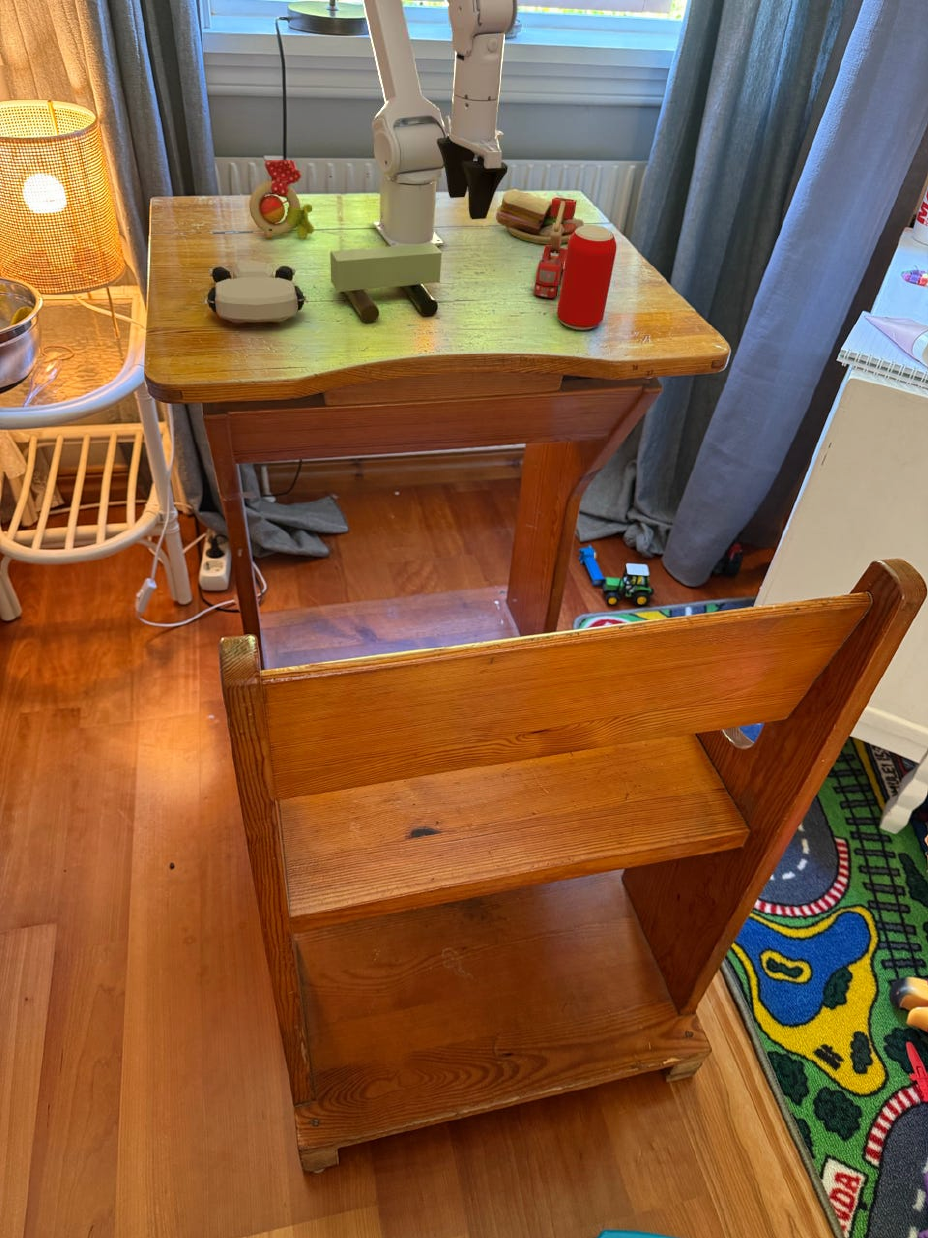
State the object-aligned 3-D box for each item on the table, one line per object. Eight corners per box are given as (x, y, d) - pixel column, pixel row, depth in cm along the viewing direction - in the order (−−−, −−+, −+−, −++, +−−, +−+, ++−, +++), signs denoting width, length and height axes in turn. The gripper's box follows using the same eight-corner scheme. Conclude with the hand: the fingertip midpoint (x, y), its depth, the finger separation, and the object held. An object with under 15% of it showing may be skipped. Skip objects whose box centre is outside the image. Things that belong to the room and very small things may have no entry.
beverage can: (547, 323, 121) (560, 231, 113) (570, 307, 125) (585, 217, 116) (587, 338, 119) (604, 245, 110) (609, 322, 122) (627, 231, 114)
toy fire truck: (531, 298, 126) (541, 226, 119) (545, 259, 136) (554, 191, 129) (555, 302, 126) (566, 230, 119) (567, 263, 135) (578, 195, 129)
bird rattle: (276, 260, 133) (330, 230, 134) (239, 189, 125) (297, 157, 125) (265, 243, 137) (317, 214, 138) (228, 174, 129) (284, 143, 129)
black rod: (391, 278, 127) (391, 261, 125) (407, 277, 128) (408, 260, 126) (420, 317, 119) (421, 299, 117) (437, 315, 120) (438, 298, 118)
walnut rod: (335, 283, 124) (334, 266, 123) (352, 282, 125) (352, 264, 124) (361, 323, 117) (361, 305, 115) (379, 322, 117) (379, 304, 116)
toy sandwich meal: (568, 253, 138) (573, 221, 135) (485, 234, 141) (487, 202, 138) (590, 226, 147) (595, 195, 144) (511, 208, 150) (514, 178, 146)
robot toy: (206, 290, 122) (208, 336, 111) (202, 255, 119) (203, 298, 108) (300, 288, 124) (310, 333, 113) (298, 254, 121) (308, 296, 110)
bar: (337, 291, 117) (337, 261, 114) (330, 281, 119) (330, 250, 117) (439, 282, 122) (441, 252, 119) (431, 272, 124) (433, 242, 121)
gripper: (529, 110, 110) (516, 225, 120) (483, 77, 120) (474, 186, 129) (475, 112, 108) (466, 229, 117) (432, 78, 117) (427, 188, 127)
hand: (467, 207), depth 123 cm, fingers open, 7 cm apart
